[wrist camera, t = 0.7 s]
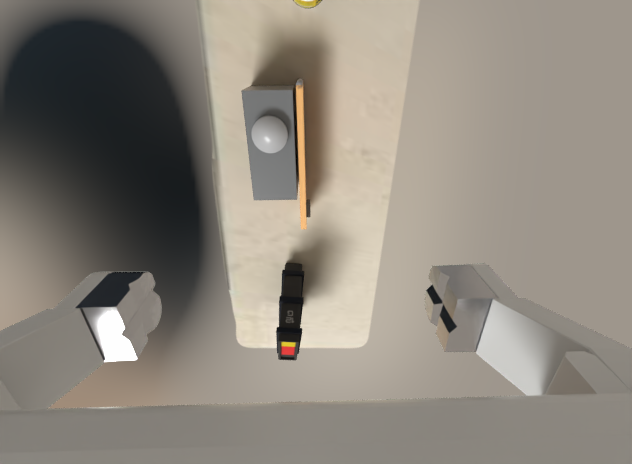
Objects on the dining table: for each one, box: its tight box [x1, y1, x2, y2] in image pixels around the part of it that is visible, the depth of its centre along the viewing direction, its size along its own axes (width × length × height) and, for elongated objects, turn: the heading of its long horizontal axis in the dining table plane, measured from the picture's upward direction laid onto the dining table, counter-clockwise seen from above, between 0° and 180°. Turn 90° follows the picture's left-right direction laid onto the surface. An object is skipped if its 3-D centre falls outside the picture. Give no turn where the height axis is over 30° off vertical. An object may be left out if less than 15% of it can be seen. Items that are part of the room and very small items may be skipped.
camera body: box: [242, 85, 298, 200], centre depth 43 cm, size 14×6×8 cm, turn 1°
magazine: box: [276, 263, 304, 360], centre depth 56 cm, size 4×13×15 cm, turn 175°
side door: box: [296, 78, 310, 229], centre depth 45 cm, size 20×1×6 cm, turn 1°
